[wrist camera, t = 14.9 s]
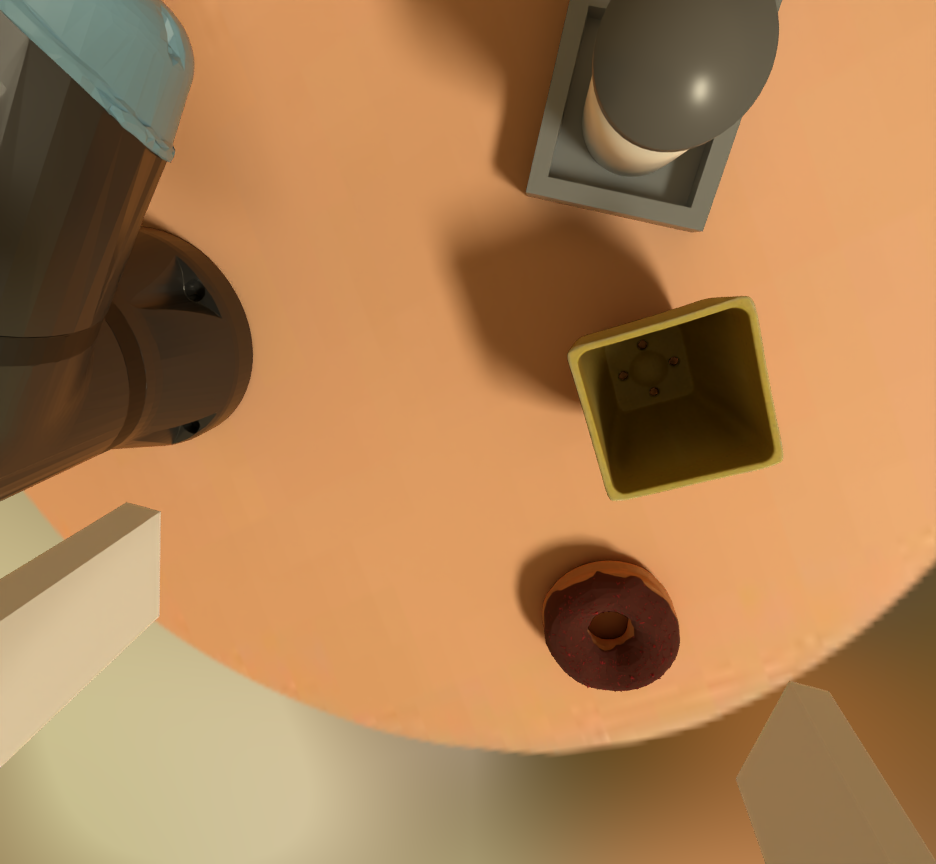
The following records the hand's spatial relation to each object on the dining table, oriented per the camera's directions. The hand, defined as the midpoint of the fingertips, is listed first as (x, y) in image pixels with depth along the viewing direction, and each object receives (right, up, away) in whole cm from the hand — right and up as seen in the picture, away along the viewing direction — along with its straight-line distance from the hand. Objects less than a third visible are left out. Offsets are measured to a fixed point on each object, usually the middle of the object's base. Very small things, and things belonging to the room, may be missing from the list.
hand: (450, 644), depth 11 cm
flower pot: (+12, +9, +24) cm, 28 cm away
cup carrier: (+11, +26, +18) cm, 33 cm away
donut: (+11, -9, +31) cm, 34 cm away
